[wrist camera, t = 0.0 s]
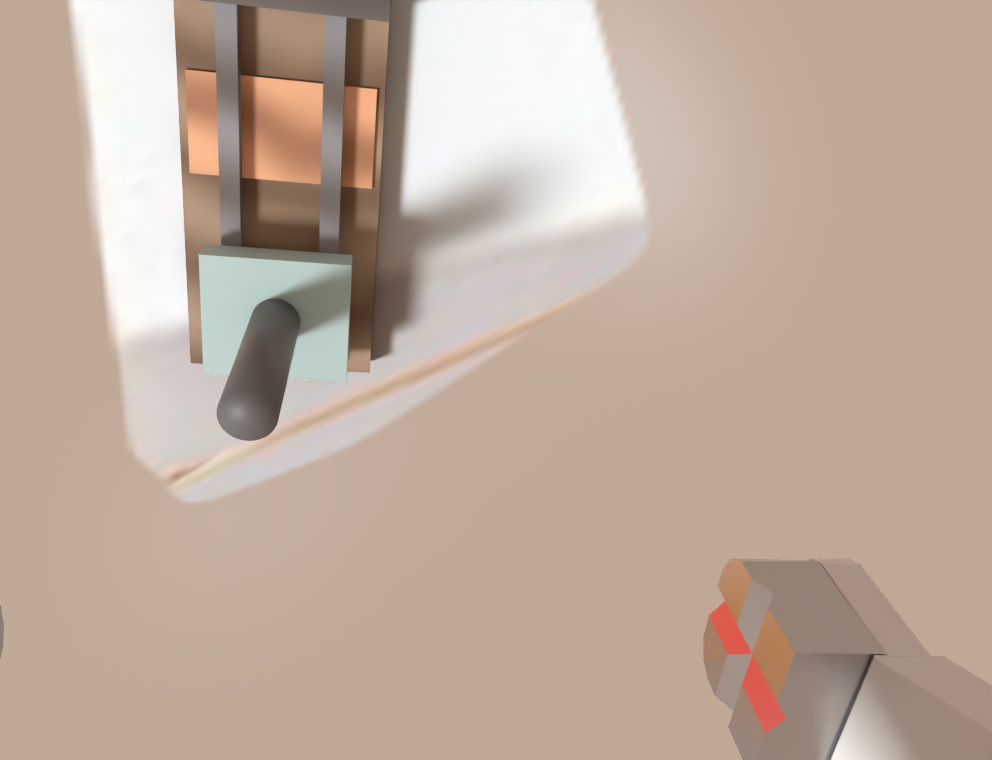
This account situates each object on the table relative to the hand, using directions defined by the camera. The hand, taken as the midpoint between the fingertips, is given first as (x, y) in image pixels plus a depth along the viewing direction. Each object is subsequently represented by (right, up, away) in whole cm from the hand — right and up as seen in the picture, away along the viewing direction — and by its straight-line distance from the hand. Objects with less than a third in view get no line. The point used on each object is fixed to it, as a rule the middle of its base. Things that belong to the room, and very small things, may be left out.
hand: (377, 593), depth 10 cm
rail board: (-12, +15, +45) cm, 49 cm away
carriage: (-13, +7, +45) cm, 48 cm away
